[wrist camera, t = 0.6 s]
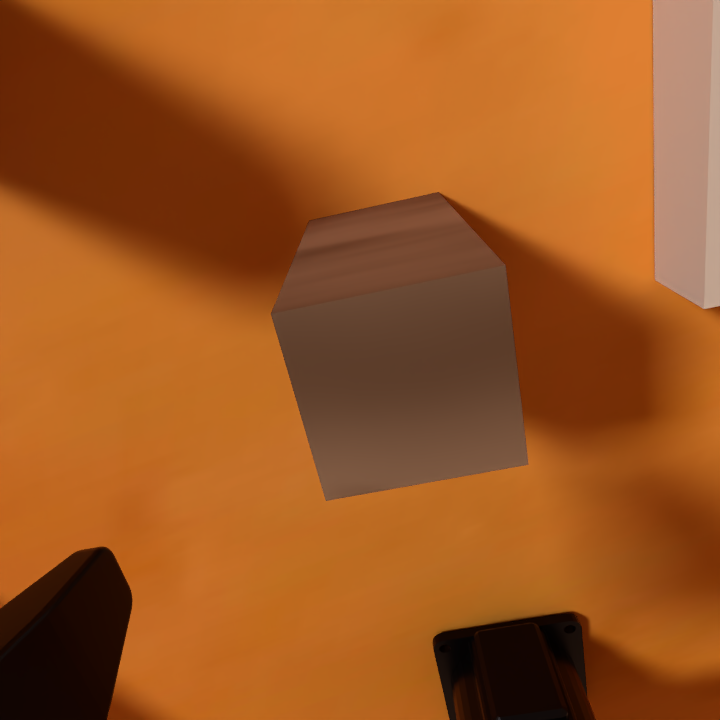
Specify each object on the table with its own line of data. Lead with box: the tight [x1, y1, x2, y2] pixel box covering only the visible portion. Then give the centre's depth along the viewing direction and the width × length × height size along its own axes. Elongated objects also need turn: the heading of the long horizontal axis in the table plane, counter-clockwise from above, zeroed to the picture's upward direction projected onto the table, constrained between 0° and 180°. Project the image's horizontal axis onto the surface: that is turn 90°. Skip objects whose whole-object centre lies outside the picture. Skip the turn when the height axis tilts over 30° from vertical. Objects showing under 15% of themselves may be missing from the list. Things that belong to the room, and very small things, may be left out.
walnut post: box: [271, 192, 528, 501], centre depth 15 cm, size 4×4×9 cm
